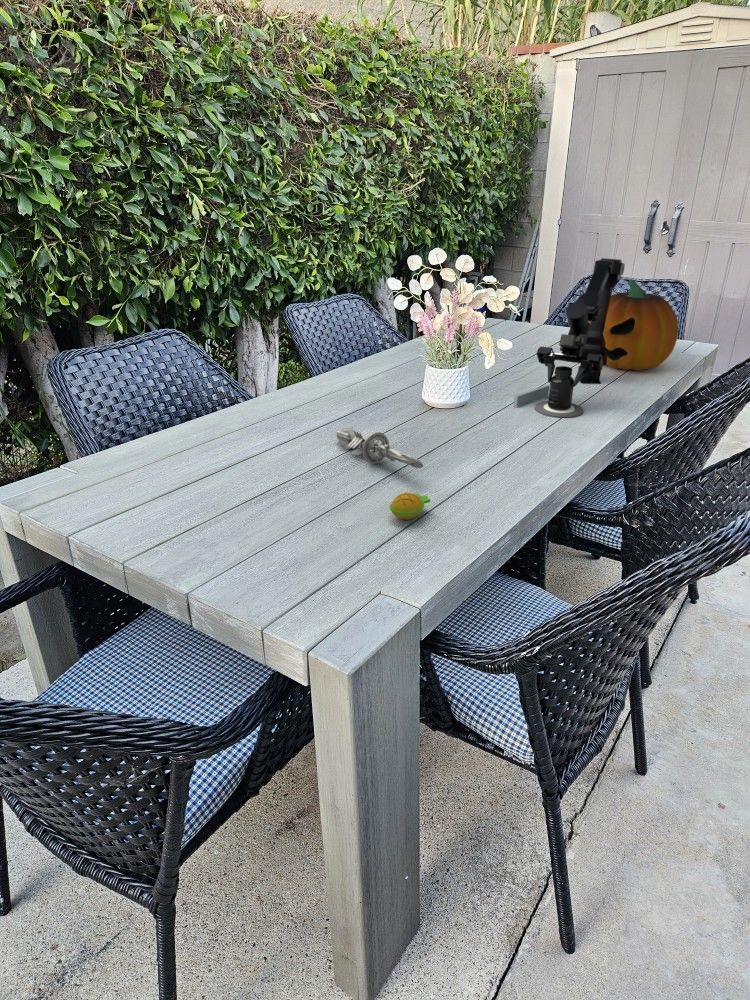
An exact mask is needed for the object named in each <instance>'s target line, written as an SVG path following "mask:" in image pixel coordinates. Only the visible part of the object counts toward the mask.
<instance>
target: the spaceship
mask: <svg viewBox="0 0 750 1000" xmlns="http://www.w3.org/2000/svg"><path fill="white" fill-rule="evenodd" d="M334 434H335V435H336V439H337V440H338V442H339V443H340V444H341V445H342V446H343V447H344V448H345V450H350V449H351V448H352V449H355V448H356V447H357V446H358V447H359V448H356V449H355V450H352V451H351V453H350V454H353V455H355V456H358V455H361V454H362V456H363V458H364V460H365V461H366V462H367V463H369V464H371V465H376V464H379V463H381V462H382V461H384V460H385V459H388V460H389V461H390V462H395V461H397V462H399V463H404V464H406V465H408V466H411V467H413V468H416V469H422V468H423V467H424V465H423V463H422V462H421V461H420V460H419V459H417V458H416V457H414V456H411V455H408V454H407V453H403V452H402V451H398V450H397V449H394V448H393V447H390V441H389V439H388V437H387V435H386V434H384V433H382V432H380V431H378V432H377V431H376V432H371V431H368V430H366V431H364V432H362V433H361V432H358V431H356V430H354V429H353V427H347V428H342V429H340V430H337V431H336V433H334ZM380 442H381V443H380ZM372 453H373V455H372ZM376 454H377V455H376Z"/></svg>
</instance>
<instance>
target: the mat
mask: <svg viewBox="0 0 750 1000" xmlns="http://www.w3.org/2000/svg"><path fill="white" fill-rule="evenodd" d="M534 410H535V411H536V412H537V413H539V414H541V415H543V416H545V417H550V418H551V417H552V418H556V419H558V418H560V419H569V418H570V419H571V418H578V417H580V416H581V415H583V413H584V409H583V407H582V406H581V405H579V404H576V403H574V402H572V403H571V408H570V409H568V410H565V411H558V410H553V409H550V408H549V407H548V400H544V401H540V402H537V403H536V404H535V405H534Z"/></svg>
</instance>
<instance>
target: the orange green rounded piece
mask: <svg viewBox="0 0 750 1000" xmlns="http://www.w3.org/2000/svg"><path fill="white" fill-rule="evenodd" d="M428 497H429V496H428V495H420V494H419V493H415V492H408V491H407V492H403V493H400V494H398V495H396V497H395V498H393V499H392V501H391V503H390V505H389V510H390V511H391V513H392V514H393V515H394V516H395V517H396V518H398V519H399V520H405V521H406V520H411V519H414V518H416V517H417V516H419V514H420V513H421V512H422V510H423V509H424V508H425V504H427V503H430V502H431V499H430V498H428Z"/></svg>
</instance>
